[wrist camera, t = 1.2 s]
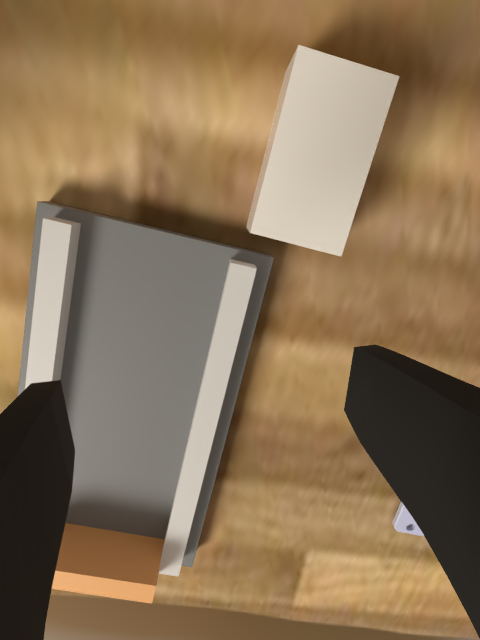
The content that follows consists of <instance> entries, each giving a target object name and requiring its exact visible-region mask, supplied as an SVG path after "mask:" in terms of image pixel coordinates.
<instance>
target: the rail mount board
mask: <svg viewBox="0 0 480 640" xmlns="http://www.w3.org/2000/svg"><path fill="white" fill-rule="evenodd" d="M273 260H274V258H273V257H272V255H269V254H265V253H261V252H257V251H252V250H248V249H244V248H240V247H236V246H232V245H228V244H223V243H219V242H215V241H211V240H207V239H203V238H198V237H194V236H190V235H186V234H182V233H178V232H174V231H169V230H165V229H161V228H157V227H153V226H149V225H145V224H140V223H136V222H132V221H128V220H124V219H120V218H115V217H111V216H107V215H103V214H99V213H95V212H91V211H86V210H82V209H78V208H74V207H70V206H66V205H61V204H57V203H53V202H49V201H39V202H37V210H36V220H35V230H34V240H33V250H32V260H31V269H30V279H29V289H28V299H27V309H26V319H25V329H24V339H23V349H22V358H21V368H20V378H19V388H18V396H19V395H20V394H21V393H22V392H23V391H24V390H25V389H26V388H27V387H28V386H29V385H30V384H31V383H39V382H48V381H56V380H61V384H62V389H63V394H64V399H65V404H66V408H67V413H68V418H69V423H70V428H71V433H72V437H73V442H74V447H75V460H74V473H73V484H72V494H71V499H70V504H69V508H68V513H67V518H66V523H65V528H64V532H63V537H62V542H61V547H60V551H59V556H58V561H57V565H56V570H55V575H54V579H53V584H52V589H58V590H64V591H71V592H78V593H85V594H91V595H98V596H105V597H112V598H118V599H125V600H132V601H139V602H145V603H152V601H153V597H154V593H155V588H156V584H157V578H158V573H160V574H166V575H172V576H179V572H180V568H181V565H182V566H188V567H192V566H193V562H194V558H195V555H196V551H197V547H198V543H199V539H200V536H201V532H202V528H203V524H204V520H205V517H206V513H207V509H208V505H209V502H210V498H211V494H212V490H213V486H214V483H215V479H216V475H217V471H218V468H219V464H220V460H221V456H222V452H223V449H224V445H225V441H226V437H227V434H228V430H229V426H230V422H231V418H232V415H233V411H234V407H235V403H236V399H237V396H238V392H239V388H240V384H241V381H242V377H243V373H244V369H245V365H246V362H247V358H248V354H249V350H250V347H251V343H252V339H253V335H254V331H255V328H256V324H257V320H258V316H259V313H260V309H261V305H262V301H263V297H264V294H265V290H266V286H267V282H268V278H269V275H270V271H271V267H272V263H273Z"/></svg>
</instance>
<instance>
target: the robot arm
mask: <svg viewBox="0 0 480 640" xmlns="http://www.w3.org/2000/svg"><path fill="white" fill-rule="evenodd" d="M344 411H345V413H346V415H347V417H348V419H349V421H350V423H351V425H352V427H353V429H354V431H355V433H356V435H357V437H358V439H359V441H360V443H361V444H362V446H363V447H364V449H365V450H366V452H367V453H368V454H369V456H370V457H371V459H372V460H373V462H374V463H375V465H376V466H377V468H378V469H379V470H380V472H381V473H382V475H383V476H384V477H385V479H386V480H387V482H388V483H389V485H390V486H391V487H392V489H393V490H394V492H395V493H396V495H397V496H398V497H399V499H400V500H401V503H400V505H399V508H398V510H397V512H396V515H395V517H394V519H393V526H394V528H395V529H396V530H397V531H398V532H403V533H408V534H414V535H420V536H425V538H426V539H427V541H428V543H429V545H430V547H431V548H432V550H433V552H434V554H435V555H436V557H437V559H438V561H439V562H440V564H441V566H442V568H443V569H444V571H445V573H446V575H447V577H448V578H449V580H450V582H451V584H452V586H453V588H454V590H455V592H456V593H457V595H458V597H459V599H460V601H461V603H462V605H463V607H464V608H465V610H466V612H467V614H468V616H469V618H470V620H471V622H472V624H473V626H474V628H475V630H476V632H477V634H478V636H479V638H480V388H479V387H476V386H474V385H471V384H469V383H466V382H464V381H462V380H459V379H457V378H455V377H452V376H450V375H448V374H445V373H443V372H441V371H438V370H436V369H434V368H432V367H429V366H427V365H425V364H422V363H420V362H418V361H416V360H413V359H411V358H409V357H406V356H404V355H402V354H399V353H397V352H394V351H392V350H389V349H387V348H384V347H381V346H378V345H369V346H360V347H354V352H353V358H352V365H351V371H350V377H349V383H348V390H347V396H346V402H345V408H344ZM74 460H75V447H74V442H73V437H72V433H71V428H70V423H69V418H68V413H67V408H66V404H65V399H64V394H63V389H62V384H61V380H56V381H48V382H39V383H31V384H30V385H29V386H28V387H27V388H26V389H25V390H24V391H23V392H22V393H21V394H20V395H19V396H18V397H17V398H16V399H15V400H14V401H13V402H12V403H11V404H10V405H9V406H8V407H7V408H6V409H5V410H4V411H3V412H2V413H1V414H0V640H43V639H44V630H45V622H46V616H47V610H48V605H49V599H50V594H51V589H52V584H53V579H54V575H55V570H56V565H57V561H58V556H59V551H60V547H61V542H62V537H63V532H64V528H65V523H66V518H67V513H68V508H69V504H70V499H71V494H72V484H73V473H74ZM409 524H411V525H409ZM408 525H409V526H408Z"/></svg>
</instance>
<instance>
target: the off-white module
mask: <svg viewBox="0 0 480 640" xmlns="http://www.w3.org/2000/svg"><path fill="white" fill-rule="evenodd" d="M398 79H399V76H397V75H394V74H391V73H387V72H384V71H381V70H378V69H375V68H371V67H368V66H365V65H362V64H358V63H355V62H352V61H349V60H346V59H342V58H339V57H336V56H333V55H330V54H326V53H323V52H320V51H317V50H313V49H310V48H307V47H304V46H301V45H298V47H297V49H296V51H295V53H294V55H293V58H292V60H291V62H290V64H289V66H288V68H287V70H286V72H285V76H284V80H283V84H282V88H281V92H280V96H279V100H278V104H277V108H276V112H275V116H274V120H273V124H272V127H271V131H270V135H269V139H268V143H267V147H266V151H265V155H264V159H263V163H262V167H261V171H260V175H259V179H258V183H257V187H256V190H255V194H254V198H253V202H252V206H251V210H250V214H249V218H248V222H247V226H246V228H247V229H248V231H249V232H250V233H252V234H256V235H260V236H264V237H268V238H272V239H276V240H279V241H283V242H287V243H291V244H295V245H299V246H303V247H306V248H310V249H314V250H318V251H322V252H326V253H330V254H333V255H337V256H342V252H343V249H344V246H345V243H346V240H347V237H348V234H349V231H350V228H351V225H352V222H353V218H354V215H355V212H356V209H357V206H358V203H359V200H360V197H361V194H362V191H363V188H364V184H365V181H366V178H367V175H368V172H369V169H370V166H371V163H372V160H373V157H374V154H375V150H376V147H377V144H378V141H379V138H380V135H381V132H382V129H383V126H384V123H385V120H386V116H387V113H388V110H389V107H390V104H391V101H392V98H393V95H394V92H395V89H396V86H397V82H398Z"/></svg>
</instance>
